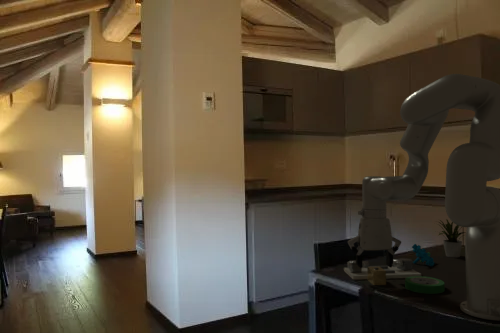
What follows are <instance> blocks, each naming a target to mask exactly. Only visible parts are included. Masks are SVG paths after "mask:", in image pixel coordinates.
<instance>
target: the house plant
mask: <svg viewBox="0 0 500 333" xmlns="http://www.w3.org/2000/svg"><path fill="white" fill-rule="evenodd" d="M437 220H439V221H437ZM437 220H435V222H436V223H437V225H438V226H439V227H441V228H442V231H435V232H437V233H439V234H438V235H437V237H439V236H443V237H444V238H445V239H443V240H442V242H443V243H442V244H443V248H444V251H445V257H448V258H460V257H461V250H462V244H463V241H462V240H460V239H461V238H462V237H464V236H465V234H466V231H462V232H460V230H461V229H462V228H463V227H461V226H458V225H455V226H454V228H453V224H454V223H453V222H452V221H451V223H450V222H449V220H448V219H447V218H446V219H445V220H446V223H444V222H443V220H441V219H437ZM461 235H462V236H461ZM458 237H459V238H458Z"/></svg>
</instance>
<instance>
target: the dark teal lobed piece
mask: <svg viewBox="0 0 500 333" xmlns="http://www.w3.org/2000/svg"><path fill="white" fill-rule="evenodd" d="M411 248H412V252H414V254H415V256H416V259H414V261H412V262H413V264H415V265H416V264H417V263H418V262H420V263H424V262H425V265H426V266H430V267H434V265H435V264H436V262H435V261H434V258H433V257H431V252H429V251H428V252H427V249H425V248H422V246H421V245H419V244H416V243H414V244H413V245H412V246H411Z"/></svg>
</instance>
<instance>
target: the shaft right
mask: <svg viewBox="0 0 500 333" xmlns="http://www.w3.org/2000/svg"><path fill="white" fill-rule="evenodd" d="M413 262H414V261H413V260H412V258H406V257H400V258H396V259H393V264H392V266H393V267H397V268H398V269H401V270H404V271H409V270H412V269H413V264H414V263H413Z"/></svg>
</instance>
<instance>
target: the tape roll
mask: <svg viewBox="0 0 500 333" xmlns="http://www.w3.org/2000/svg"><path fill="white" fill-rule="evenodd" d="M404 287H405V289H406V290H409V291H410V292H414V293H417V294H427V295H430V294H431V295H432V294H436V295H437V294H442V293H444V292H445V291H446V290H445V282H444V281H443V280H441V279H440V278H439V279H438V278H437V277H436V278H435V277H431V276H422V275H421V276H412V277H408V278H404Z"/></svg>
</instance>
